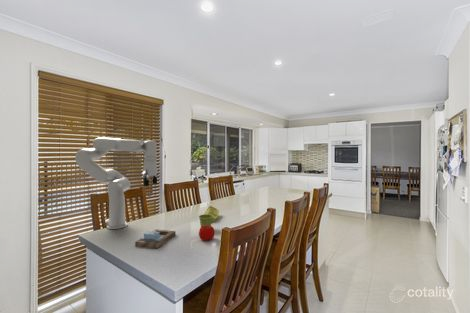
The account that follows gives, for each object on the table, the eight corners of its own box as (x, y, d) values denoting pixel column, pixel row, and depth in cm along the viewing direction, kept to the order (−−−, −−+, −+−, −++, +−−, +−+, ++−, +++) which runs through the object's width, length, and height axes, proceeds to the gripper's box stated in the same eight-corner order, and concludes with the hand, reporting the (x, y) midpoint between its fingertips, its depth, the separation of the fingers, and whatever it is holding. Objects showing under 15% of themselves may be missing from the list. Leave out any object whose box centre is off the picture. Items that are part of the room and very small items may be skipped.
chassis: (135, 246, 125) (135, 241, 125) (155, 233, 145) (155, 229, 145) (157, 248, 122) (157, 243, 122) (175, 235, 142) (175, 230, 142)
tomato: (206, 235, 142) (206, 223, 142) (217, 239, 136) (217, 226, 136) (195, 240, 134) (195, 227, 134) (205, 243, 129) (205, 230, 129)
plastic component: (216, 219, 167) (203, 213, 167) (211, 228, 168) (199, 222, 168) (219, 210, 187) (208, 204, 187) (215, 218, 187) (204, 212, 188)
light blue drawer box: (140, 243, 128) (140, 232, 128) (144, 240, 132) (144, 229, 131) (159, 245, 125) (158, 233, 125) (162, 242, 129) (162, 230, 129)
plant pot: (215, 227, 156) (215, 214, 156) (210, 232, 147) (210, 218, 146) (201, 226, 158) (201, 213, 158) (196, 231, 149) (196, 217, 148)
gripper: (152, 158, 166) (152, 182, 166) (137, 159, 149) (137, 186, 149) (162, 158, 164) (162, 183, 164) (148, 159, 147) (148, 186, 148)
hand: (150, 184), depth 157 cm, fingers open, 9 cm apart
